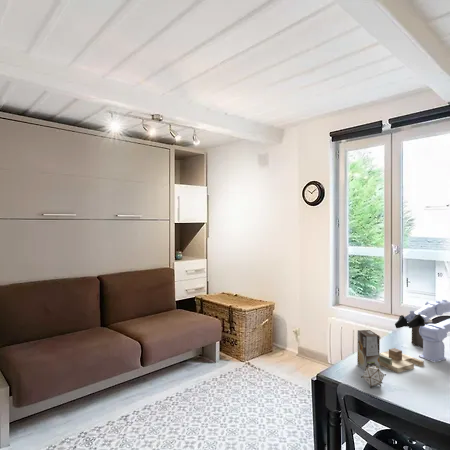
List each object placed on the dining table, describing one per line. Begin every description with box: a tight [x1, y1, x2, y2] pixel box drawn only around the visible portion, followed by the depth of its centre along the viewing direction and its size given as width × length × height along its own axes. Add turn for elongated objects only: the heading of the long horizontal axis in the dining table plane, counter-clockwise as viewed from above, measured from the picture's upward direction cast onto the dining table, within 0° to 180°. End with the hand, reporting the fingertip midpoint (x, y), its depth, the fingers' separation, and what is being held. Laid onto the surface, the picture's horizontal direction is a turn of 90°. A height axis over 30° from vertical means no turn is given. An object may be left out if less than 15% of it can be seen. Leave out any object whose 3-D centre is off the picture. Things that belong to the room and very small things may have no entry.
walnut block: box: [388, 347, 403, 361], centre depth 164 cm, size 4×4×4 cm
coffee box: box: [356, 329, 381, 372], centre depth 158 cm, size 9×6×16 cm
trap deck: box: [379, 350, 425, 373], centre depth 164 cm, size 18×16×4 cm
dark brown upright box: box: [411, 318, 433, 348], centre depth 190 cm, size 10×10×15 cm
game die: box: [360, 364, 387, 389], centre depth 140 cm, size 9×8×10 cm
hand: (402, 326), depth 162 cm, fingers open, 7 cm apart
